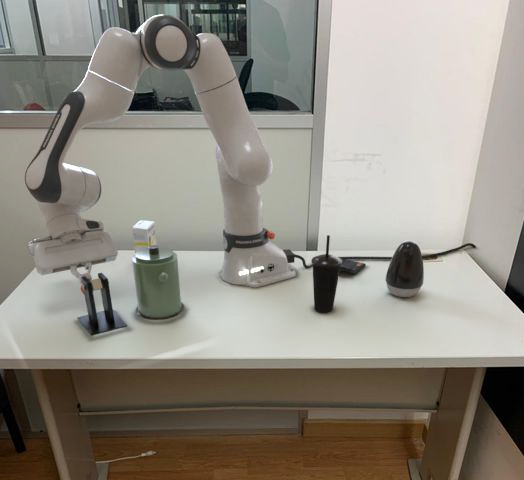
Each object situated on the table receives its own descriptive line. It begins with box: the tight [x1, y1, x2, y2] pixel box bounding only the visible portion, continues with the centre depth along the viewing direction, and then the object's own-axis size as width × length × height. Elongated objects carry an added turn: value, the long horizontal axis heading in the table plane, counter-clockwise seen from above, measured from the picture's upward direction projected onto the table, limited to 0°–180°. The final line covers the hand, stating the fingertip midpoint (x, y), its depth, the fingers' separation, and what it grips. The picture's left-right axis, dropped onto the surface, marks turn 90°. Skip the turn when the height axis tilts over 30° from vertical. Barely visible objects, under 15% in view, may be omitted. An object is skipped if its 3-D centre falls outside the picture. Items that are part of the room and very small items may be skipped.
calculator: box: [339, 258, 366, 275], centre depth 162 cm, size 9×12×3 cm
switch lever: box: [80, 277, 103, 295], centre depth 131 cm, size 13×3×3 cm, turn 33°
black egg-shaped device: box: [384, 240, 425, 298], centre depth 144 cm, size 10×10×15 cm
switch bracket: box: [76, 272, 128, 337], centre depth 129 cm, size 11×9×13 cm
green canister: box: [131, 244, 185, 321], centre depth 133 cm, size 18×12×18 cm
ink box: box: [131, 219, 157, 254], centre depth 167 cm, size 9×5×12 cm, turn 174°
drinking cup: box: [310, 234, 342, 314], centre depth 135 cm, size 8×8×20 cm
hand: (86, 281), depth 133 cm, fingers closed, pressing on switch lever
